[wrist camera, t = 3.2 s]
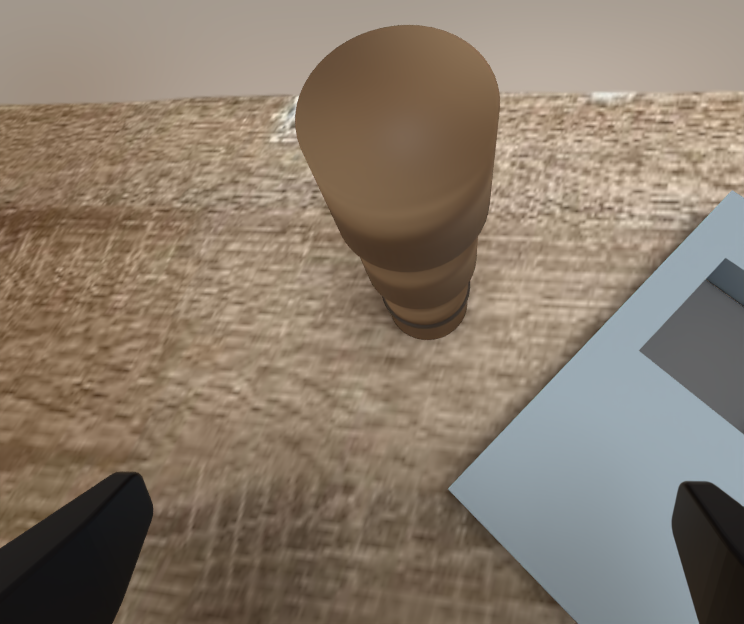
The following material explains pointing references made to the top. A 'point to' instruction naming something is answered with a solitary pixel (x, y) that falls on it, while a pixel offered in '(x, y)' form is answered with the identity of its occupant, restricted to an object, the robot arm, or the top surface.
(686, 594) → the seat board
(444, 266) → the leg
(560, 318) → the top surface
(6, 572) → the robot arm
